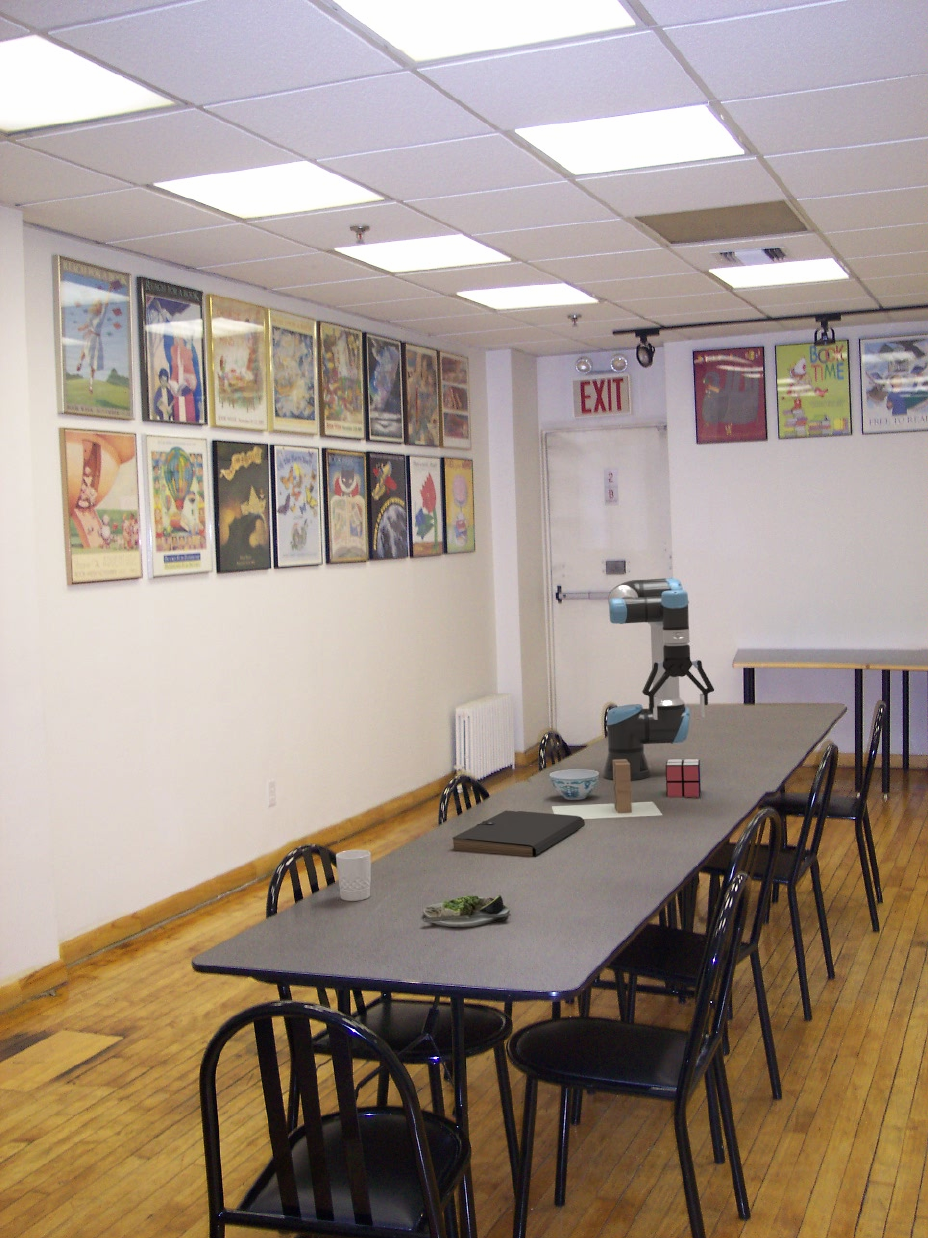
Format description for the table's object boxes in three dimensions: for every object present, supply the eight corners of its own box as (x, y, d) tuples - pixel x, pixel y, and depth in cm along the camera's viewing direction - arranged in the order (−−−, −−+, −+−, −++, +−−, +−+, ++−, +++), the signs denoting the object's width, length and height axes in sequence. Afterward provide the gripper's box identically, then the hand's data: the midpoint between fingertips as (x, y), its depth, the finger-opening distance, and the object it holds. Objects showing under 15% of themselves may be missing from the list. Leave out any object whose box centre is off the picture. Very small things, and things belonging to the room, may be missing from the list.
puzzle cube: (700, 798, 367) (699, 765, 366) (666, 798, 369) (665, 765, 368) (700, 791, 377) (699, 759, 376) (667, 791, 379) (666, 759, 378)
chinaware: (609, 797, 374) (608, 772, 374) (579, 806, 363) (578, 780, 363) (571, 791, 385) (570, 767, 384) (540, 800, 374) (539, 775, 373)
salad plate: (440, 938, 249) (439, 916, 249) (403, 917, 265) (402, 896, 264) (522, 921, 258) (521, 899, 258) (481, 901, 274) (480, 881, 273)
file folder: (505, 809, 348) (584, 815, 337) (505, 823, 348) (584, 830, 337) (451, 836, 319) (536, 844, 308) (451, 852, 319) (536, 860, 308)
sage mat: (551, 807, 363) (551, 806, 363) (652, 803, 363) (652, 801, 363) (556, 821, 345) (556, 820, 345) (662, 816, 345) (662, 815, 345)
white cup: (338, 893, 284) (336, 851, 283) (372, 891, 285) (370, 848, 284) (337, 903, 276) (335, 859, 275) (372, 900, 277) (370, 857, 276)
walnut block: (614, 807, 358) (612, 759, 357) (628, 806, 358) (626, 759, 357) (617, 813, 350) (616, 764, 349) (631, 812, 350) (630, 764, 349)
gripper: (634, 647, 347) (637, 721, 349) (722, 643, 347) (725, 717, 349) (631, 645, 355) (633, 718, 356) (717, 641, 355) (719, 714, 356)
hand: (679, 718), depth 352 cm, fingers open, 13 cm apart
